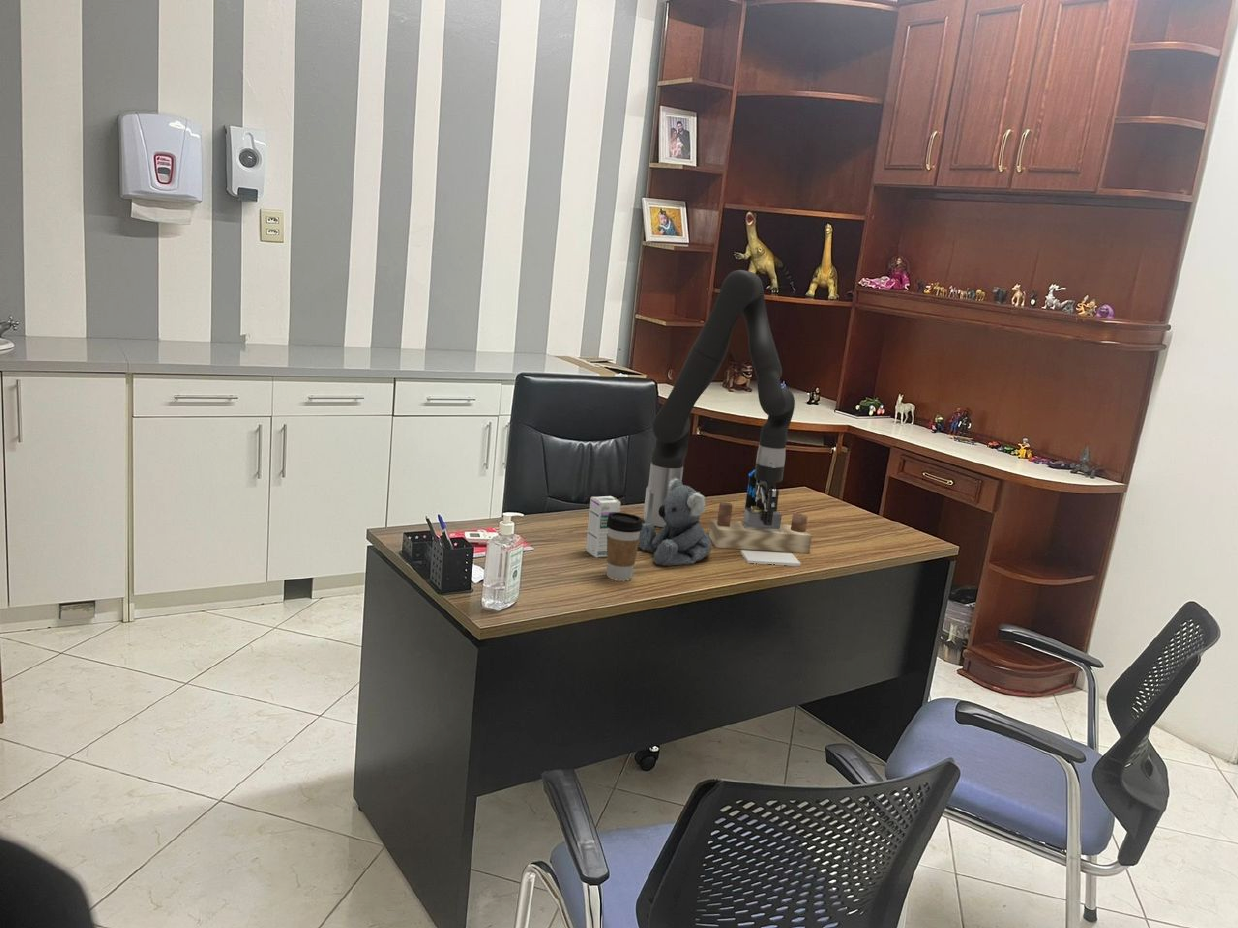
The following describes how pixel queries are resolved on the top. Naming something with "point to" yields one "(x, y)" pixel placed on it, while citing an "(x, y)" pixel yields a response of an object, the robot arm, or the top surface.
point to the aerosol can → (751, 491)
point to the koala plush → (678, 528)
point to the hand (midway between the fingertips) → (763, 520)
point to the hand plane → (759, 534)
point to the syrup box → (600, 524)
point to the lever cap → (760, 518)
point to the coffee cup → (622, 544)
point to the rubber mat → (770, 558)
